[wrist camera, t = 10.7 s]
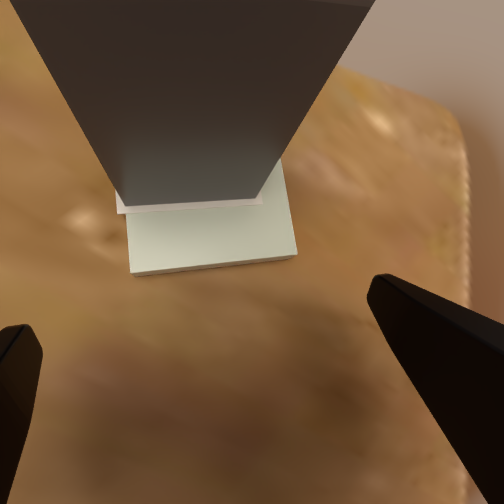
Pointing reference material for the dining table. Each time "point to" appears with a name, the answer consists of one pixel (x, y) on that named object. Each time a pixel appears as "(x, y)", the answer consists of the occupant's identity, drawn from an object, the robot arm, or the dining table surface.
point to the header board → (211, 231)
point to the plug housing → (190, 85)
